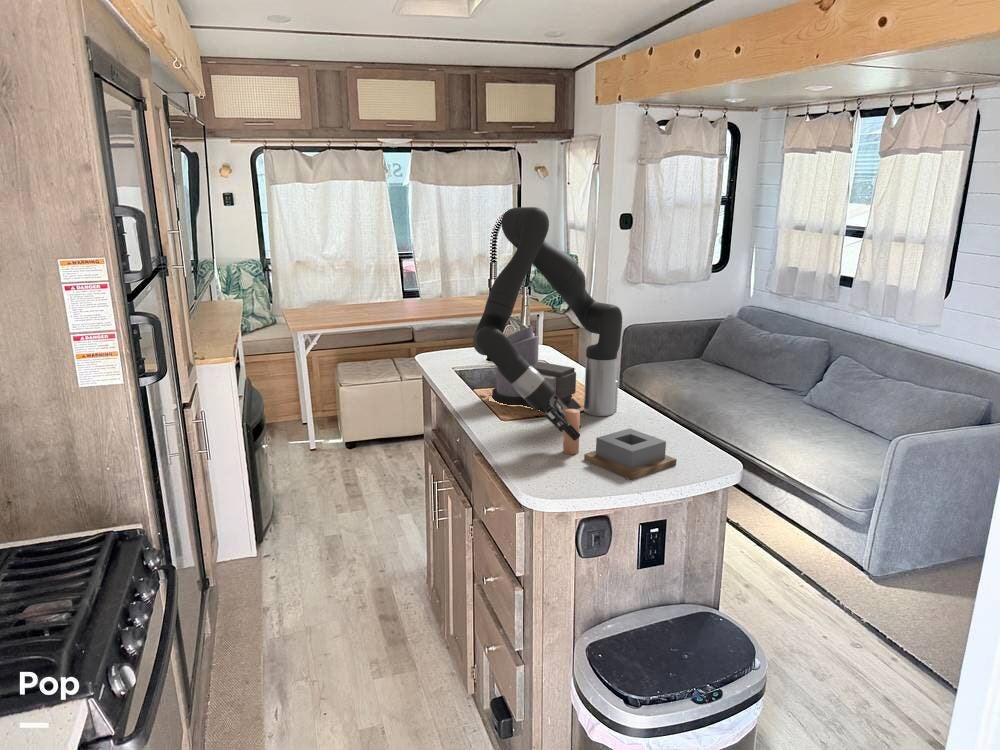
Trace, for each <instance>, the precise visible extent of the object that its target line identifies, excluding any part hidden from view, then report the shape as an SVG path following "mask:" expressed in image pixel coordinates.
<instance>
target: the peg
mask: <svg viewBox="0 0 1000 750" xmlns="http://www.w3.org/2000/svg"><path fill="white" fill-rule="evenodd" d="M564 413H565V414H566V416H567V417H566V419H567V420H568V421H569V422H570V424H571V425H572V426H573V427H574V428H575V429H576V430H577V431H578V432H579V433H580V429H579V426H580V425H581V424H580V421H581V420H580V419H581V416H580V415H581V411H580V409H566V410H564ZM562 446H563V447H562V452H563V454H566V455H573V456H574V455H577V454H579V452H580V449H579V448H580V437H579V438H578V439H577V440H573V439H572V438H571V437H570V436H569V435H568V434H567V433H566V432H565V431H563V445H562Z"/></svg>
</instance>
